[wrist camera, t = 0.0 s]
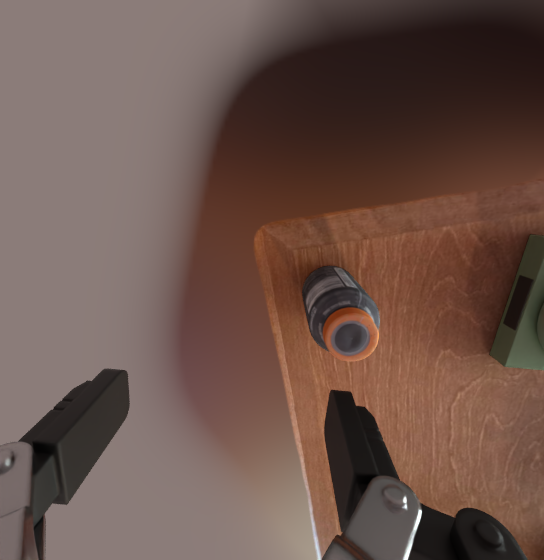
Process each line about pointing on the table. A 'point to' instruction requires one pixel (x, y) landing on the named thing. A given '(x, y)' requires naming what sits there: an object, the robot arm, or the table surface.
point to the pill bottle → (340, 314)
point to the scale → (524, 313)
